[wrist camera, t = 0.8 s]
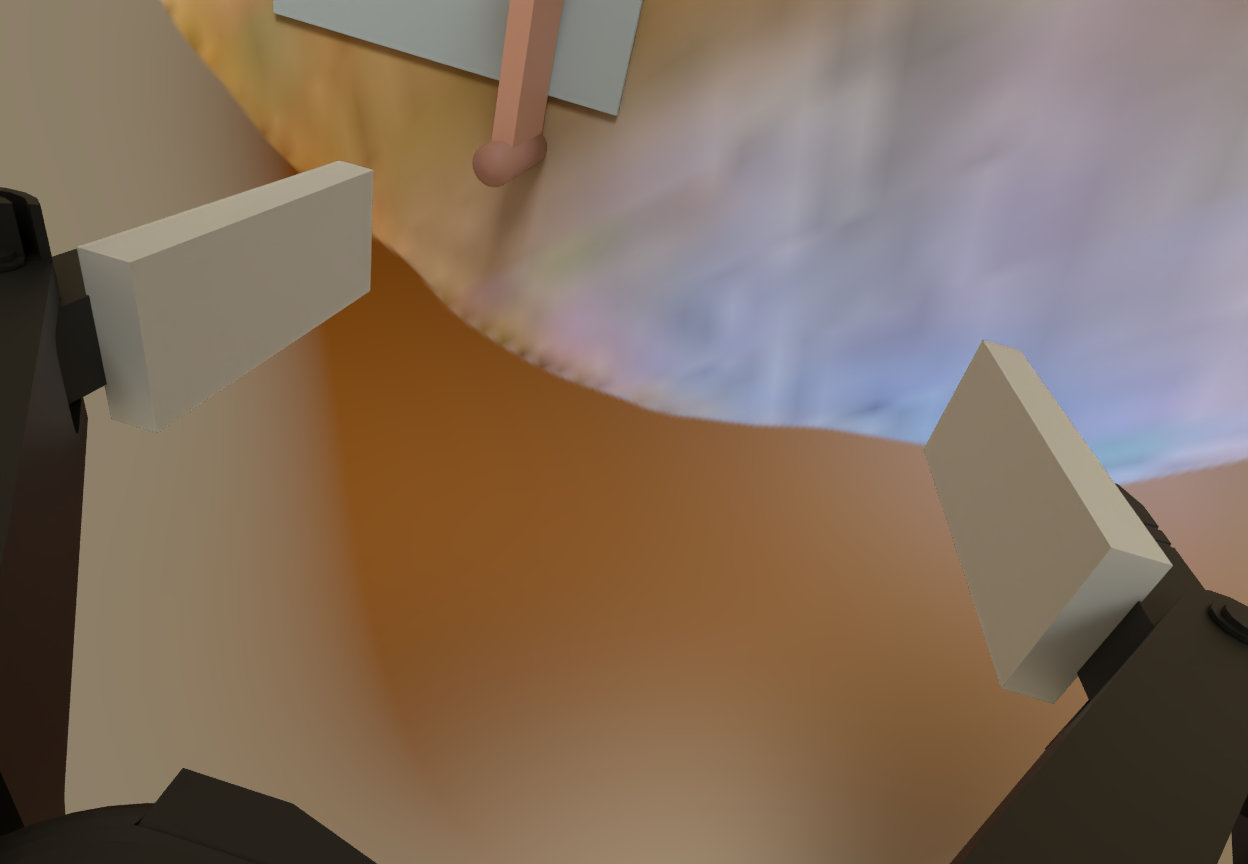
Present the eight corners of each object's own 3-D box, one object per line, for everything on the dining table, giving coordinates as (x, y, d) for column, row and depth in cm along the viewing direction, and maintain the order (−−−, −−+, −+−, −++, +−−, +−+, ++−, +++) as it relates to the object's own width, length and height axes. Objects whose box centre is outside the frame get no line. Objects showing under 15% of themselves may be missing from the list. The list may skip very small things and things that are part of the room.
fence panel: (545, -84, 31) (503, -99, 26) (585, -72, 31) (549, -86, 26) (510, 158, 37) (470, 180, 32) (543, 168, 37) (508, 192, 32)
